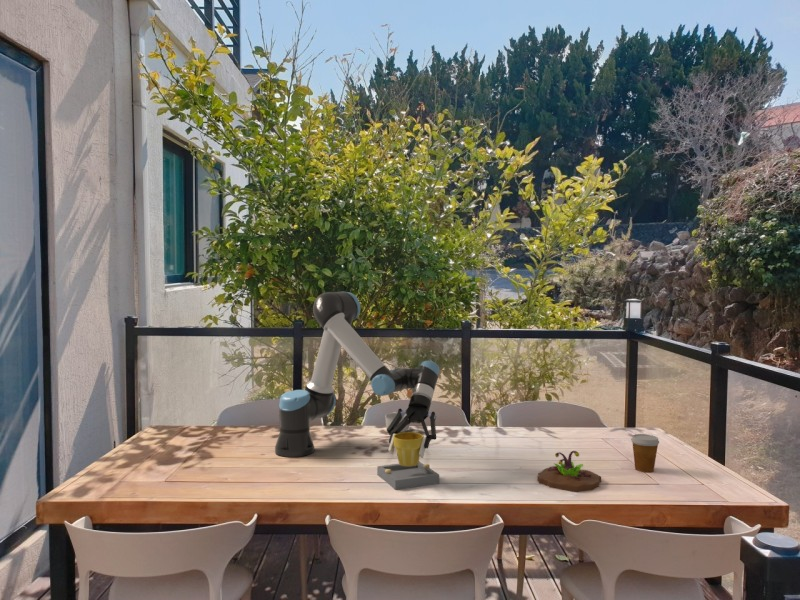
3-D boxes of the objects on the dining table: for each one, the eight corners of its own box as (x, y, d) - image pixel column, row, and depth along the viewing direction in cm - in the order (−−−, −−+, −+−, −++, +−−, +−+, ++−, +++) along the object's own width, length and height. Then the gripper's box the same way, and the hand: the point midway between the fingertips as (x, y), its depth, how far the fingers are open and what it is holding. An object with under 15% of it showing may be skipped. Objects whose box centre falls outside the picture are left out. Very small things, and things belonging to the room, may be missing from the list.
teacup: (409, 435, 266) (409, 417, 265) (384, 435, 266) (384, 417, 266) (409, 427, 280) (409, 410, 279) (385, 427, 280) (385, 410, 280)
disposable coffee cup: (657, 467, 225) (658, 435, 224) (659, 475, 216) (660, 441, 215) (629, 464, 228) (630, 432, 227) (630, 472, 219) (631, 439, 218)
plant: (584, 497, 194) (584, 462, 194) (529, 483, 207) (529, 450, 207) (609, 481, 209) (609, 449, 209) (556, 469, 222) (557, 439, 222)
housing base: (394, 489, 198) (394, 477, 198) (376, 474, 213) (376, 463, 213) (439, 483, 205) (439, 471, 205) (419, 469, 220) (419, 458, 220)
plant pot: (388, 466, 206) (389, 437, 205) (399, 458, 215) (399, 430, 215) (418, 470, 202) (418, 441, 202) (427, 461, 212) (427, 433, 212)
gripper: (453, 407, 218) (440, 463, 204) (394, 402, 227) (377, 455, 213) (449, 395, 213) (435, 452, 199) (389, 391, 221) (371, 444, 208)
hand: (405, 454), depth 206 cm, fingers closed on plant pot, 10 cm apart
